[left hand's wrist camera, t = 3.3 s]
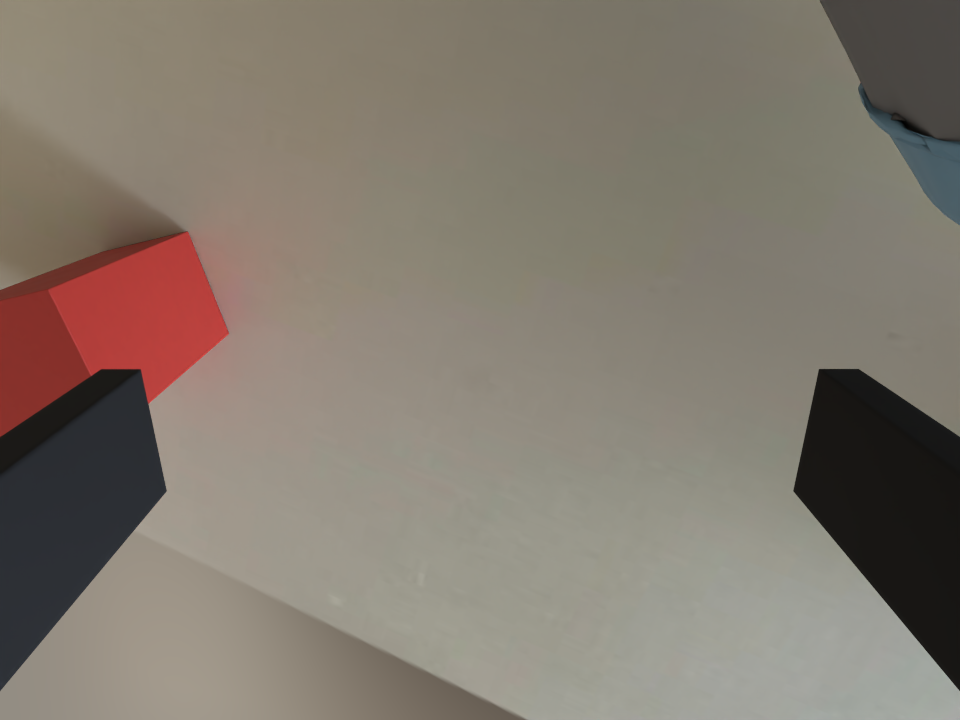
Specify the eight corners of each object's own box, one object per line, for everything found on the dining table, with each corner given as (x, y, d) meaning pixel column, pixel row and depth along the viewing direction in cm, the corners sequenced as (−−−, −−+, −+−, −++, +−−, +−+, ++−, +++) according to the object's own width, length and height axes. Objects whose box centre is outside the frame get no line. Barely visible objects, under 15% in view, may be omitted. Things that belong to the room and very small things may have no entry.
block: (229, 333, 35) (118, 430, 25) (147, 351, 35) (5, 454, 25) (188, 231, 33) (47, 288, 22) (101, 252, 33) (-75, 317, 23)
